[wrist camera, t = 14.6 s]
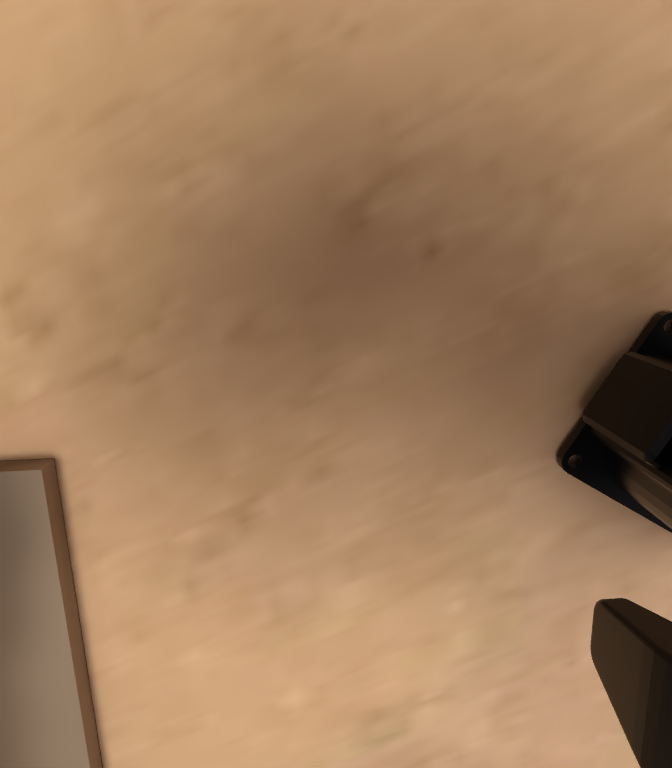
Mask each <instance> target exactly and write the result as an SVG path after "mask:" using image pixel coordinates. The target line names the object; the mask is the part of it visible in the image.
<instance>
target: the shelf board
mask: <svg viewBox="0 0 672 768" xmlns="http://www.w3.org/2000/svg"><path fill="white" fill-rule="evenodd" d="M0 768H102V762H101V756H100V750H99V743H98V737H97V730H96V724H95V718H94V711H93V705H92V698H91V692H90V686H89V679H88V673H87V666H86V660H85V654H84V647H83V641H82V635H81V628H80V622H79V615H78V609H77V603H76V596H75V590H74V583H73V577H72V571H71V564H70V558H69V552H68V545H67V539H66V532H65V526H64V520H63V513H62V507H61V500H60V494H59V488H58V481H57V475H56V469H55V462H54V459H34V460H12V461H0Z"/></svg>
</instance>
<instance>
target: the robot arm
mask: <svg viewBox="0 0 672 768" xmlns="http://www.w3.org/2000/svg"><path fill="white" fill-rule="evenodd" d="M668 320H670V321H671V327H670V329H669V330H668V331H667V332H664V328H663V327H664V324H665V323H666V322H667V321H668ZM572 455H577V459H576V461H575V462H574V463H571V464H569V463H568V461H569V458H570V457H571V456H572ZM557 462H558V465H559V466H560V467H561V468H562V469H563V470H565V471H566V472H567V473H568V474H570V475H572V476H573V477H575V478H577V479H579V480H580V481H582V482H584V483H586V484H587V485H589V486H591V487H593V488H594V489H596V490H598V491H600V492H601V493H603V494H605V495H607V496H608V497H610V498H612V499H614V500H615V501H617V502H619V503H621V504H622V505H624V506H626V507H628V508H629V509H631V510H633V511H635V512H636V513H638V514H640V515H642V516H643V517H645V518H647V519H649V520H650V521H652V522H654V523H656V524H657V525H659V526H661V527H663V528H664V529H666V530H668V531H670V532H671V533H672V312H671V311H662V312H660V313H657V314H656V315H655V316H654V317H653V318H652V320H651V321H650V322H649V324H648V325H647V327H646V328H645V329H644V331H643V332H642V334H641V335H640V337H639V338H638V339H637V341H636V342H635V344H634V345H633V347H632V348H631V349H630V351H629V352H628V353H627V354H624V355H623V356H622V357H621V358H620V360H619V361H618V363H617V364H616V366H615V367H614V368H613V370H612V371H611V373H610V374H609V376H608V377H607V378H606V380H605V381H604V383H603V384H602V386H601V387H600V388H599V390H598V391H597V393H596V394H595V396H594V397H593V398H592V400H591V401H590V403H589V404H588V406H587V407H586V408H585V410H584V411H583V418H582V419H581V421H580V422H579V423H578V425H577V426H576V428H575V429H574V431H573V432H572V433H571V435H570V436H569V438H568V439H567V441H566V442H565V443H564V445H563V446H562V448H561V449H560V450H559V453H558V455H557ZM591 655H592V660H593V663H594V665H595V668H596V670H597V672H598V674H599V677H600V679H601V681H602V683H603V686H604V688H605V690H606V692H607V695H608V697H609V699H610V701H611V704H612V706H613V708H614V710H615V713H616V715H617V717H618V719H619V722H620V724H621V726H622V728H623V731H624V733H625V735H626V737H627V740H628V742H629V744H630V746H631V749H632V751H633V753H634V755H635V757H636V759H637V761H638V763H639V765H640V767H641V768H672V622H671V621H669V620H667V619H665V618H663V617H661V616H659V615H657V614H655V613H653V612H651V611H649V610H647V609H645V608H643V607H641V606H639V605H637V604H635V603H633V602H631V601H629V600H627V599H624V598H616V599H601V600H599V601H598V602H597V603H596V604H595V607H594V614H593V624H592V635H591Z"/></svg>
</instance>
